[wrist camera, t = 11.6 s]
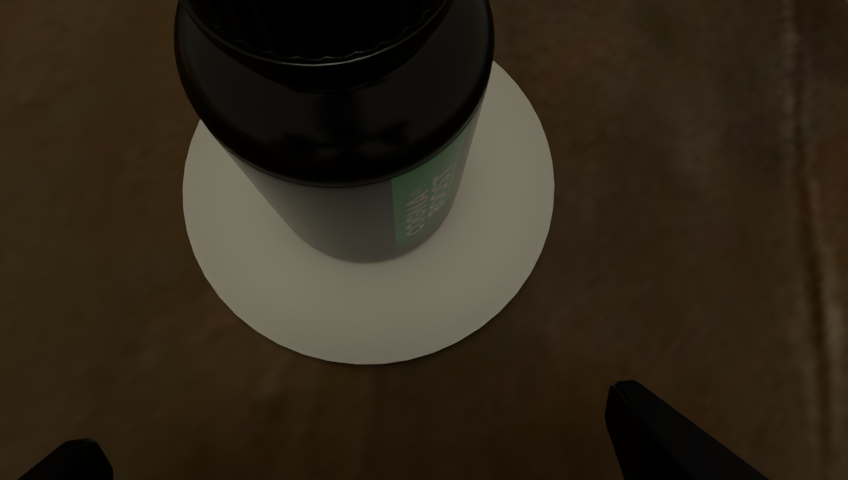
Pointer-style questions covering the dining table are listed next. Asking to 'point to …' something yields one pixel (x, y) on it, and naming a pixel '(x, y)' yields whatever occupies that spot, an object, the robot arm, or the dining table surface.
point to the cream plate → (389, 279)
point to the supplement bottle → (342, 109)
